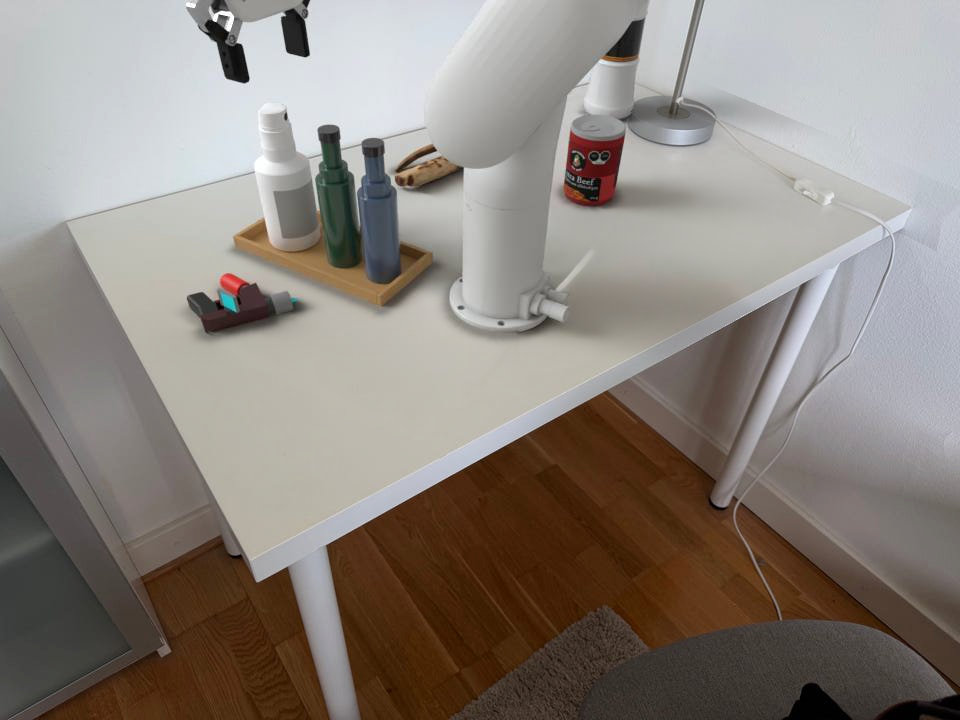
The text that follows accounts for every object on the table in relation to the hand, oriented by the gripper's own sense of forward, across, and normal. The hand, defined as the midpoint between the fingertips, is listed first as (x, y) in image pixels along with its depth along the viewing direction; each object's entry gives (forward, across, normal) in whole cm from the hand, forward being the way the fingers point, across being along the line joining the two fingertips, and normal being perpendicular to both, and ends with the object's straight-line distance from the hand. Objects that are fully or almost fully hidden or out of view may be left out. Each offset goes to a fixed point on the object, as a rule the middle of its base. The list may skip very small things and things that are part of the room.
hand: (269, 67), depth 78 cm
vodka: (+24, +65, -17) cm, 71 cm away
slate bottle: (+23, 0, -14) cm, 27 cm away
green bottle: (+23, 0, -8) cm, 24 cm away
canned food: (+24, +34, -27) cm, 50 cm away
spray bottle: (+23, 0, +1) cm, 23 cm away
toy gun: (+24, -14, -3) cm, 28 cm away
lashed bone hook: (+24, +27, -3) cm, 36 cm away
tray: (+23, 0, -6) cm, 24 cm away
